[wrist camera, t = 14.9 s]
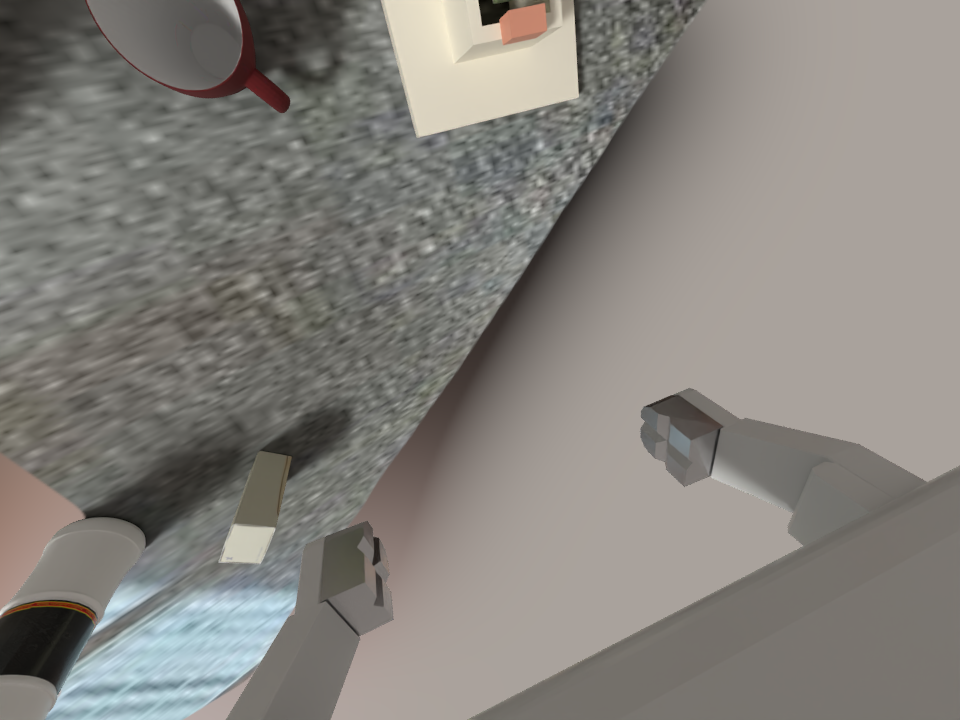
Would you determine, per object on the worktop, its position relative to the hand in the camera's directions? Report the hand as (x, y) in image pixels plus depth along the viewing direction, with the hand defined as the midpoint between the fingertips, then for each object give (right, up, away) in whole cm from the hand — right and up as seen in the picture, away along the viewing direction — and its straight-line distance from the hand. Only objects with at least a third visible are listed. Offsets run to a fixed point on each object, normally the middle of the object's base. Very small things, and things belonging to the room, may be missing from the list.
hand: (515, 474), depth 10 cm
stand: (-1, +37, +24) cm, 44 cm away
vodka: (-51, -20, +38) cm, 66 cm away
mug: (-22, +29, +21) cm, 42 cm away
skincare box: (-31, -12, +40) cm, 52 cm away
